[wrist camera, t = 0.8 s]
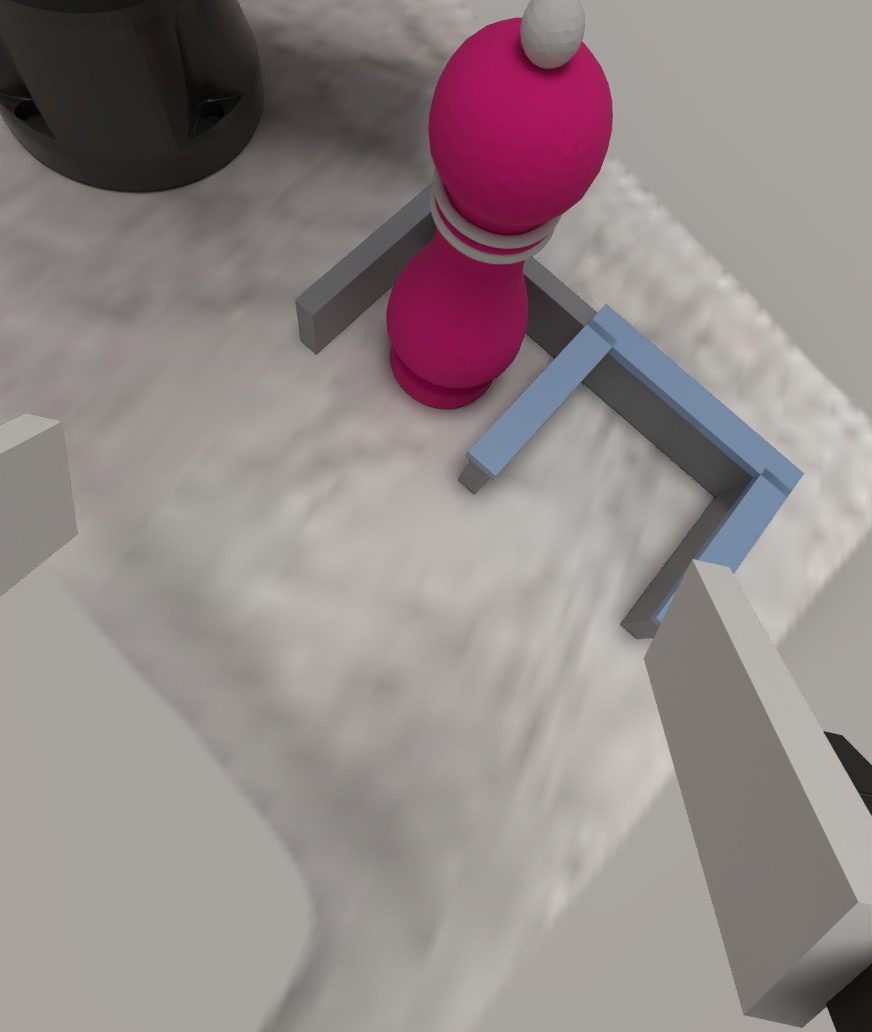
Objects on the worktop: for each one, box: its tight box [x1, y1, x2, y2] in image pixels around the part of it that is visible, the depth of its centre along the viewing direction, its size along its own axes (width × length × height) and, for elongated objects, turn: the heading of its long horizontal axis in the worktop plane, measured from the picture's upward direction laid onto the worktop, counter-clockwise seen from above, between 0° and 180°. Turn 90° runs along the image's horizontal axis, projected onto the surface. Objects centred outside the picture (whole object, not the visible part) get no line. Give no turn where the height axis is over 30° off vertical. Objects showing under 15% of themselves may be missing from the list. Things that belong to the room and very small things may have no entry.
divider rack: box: [295, 182, 804, 639], centre depth 33 cm, size 26×12×5 cm, turn 49°
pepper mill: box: [387, 0, 613, 409], centre depth 25 cm, size 7×7×20 cm
